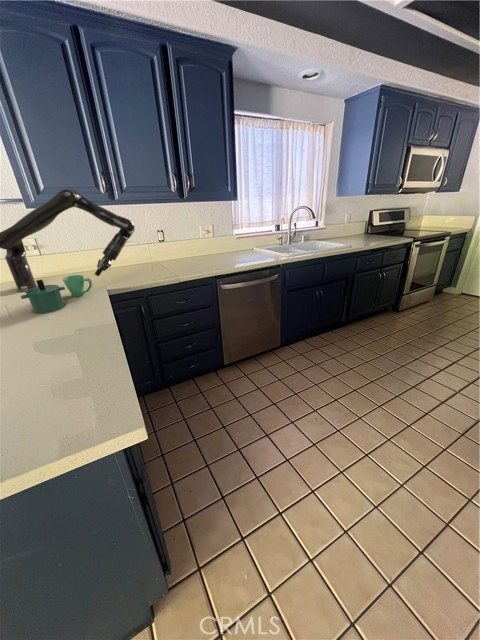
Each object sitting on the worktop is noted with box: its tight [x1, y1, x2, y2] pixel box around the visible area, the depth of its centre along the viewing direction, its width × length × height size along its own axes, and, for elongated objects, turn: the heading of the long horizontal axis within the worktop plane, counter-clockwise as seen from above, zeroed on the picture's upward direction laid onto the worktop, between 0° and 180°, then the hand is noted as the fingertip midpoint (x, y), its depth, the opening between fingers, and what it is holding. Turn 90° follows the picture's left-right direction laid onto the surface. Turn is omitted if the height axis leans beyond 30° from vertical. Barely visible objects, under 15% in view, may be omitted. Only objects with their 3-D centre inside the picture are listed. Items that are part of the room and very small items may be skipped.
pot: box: [20, 286, 66, 314], centre depth 130 cm, size 13×18×10 cm
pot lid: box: [24, 279, 60, 295], centre depth 127 cm, size 14×14×6 cm
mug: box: [62, 274, 93, 297], centre depth 147 cm, size 15×10×10 cm
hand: (96, 275), depth 151 cm, fingers closed
